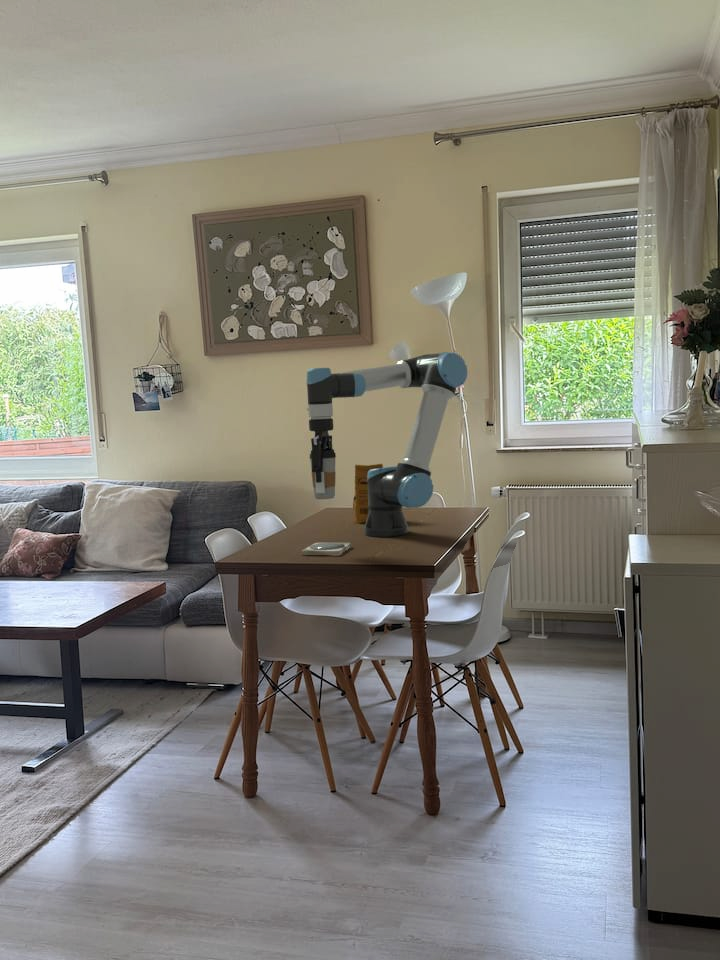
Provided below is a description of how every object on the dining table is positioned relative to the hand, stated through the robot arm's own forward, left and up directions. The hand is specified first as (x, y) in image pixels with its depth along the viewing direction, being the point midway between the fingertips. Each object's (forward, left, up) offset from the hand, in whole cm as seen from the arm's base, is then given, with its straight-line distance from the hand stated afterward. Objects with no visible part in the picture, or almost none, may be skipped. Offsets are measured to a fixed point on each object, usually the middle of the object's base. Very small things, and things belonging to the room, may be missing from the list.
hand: (324, 491), depth 268 cm
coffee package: (-59, -2, -19) cm, 62 cm away
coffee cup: (0, 0, -2) cm, 2 cm away
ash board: (0, 0, -19) cm, 19 cm away
